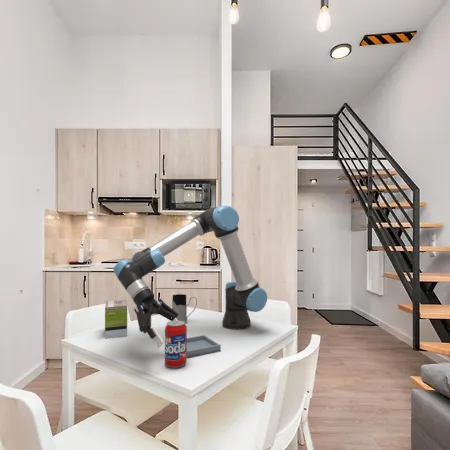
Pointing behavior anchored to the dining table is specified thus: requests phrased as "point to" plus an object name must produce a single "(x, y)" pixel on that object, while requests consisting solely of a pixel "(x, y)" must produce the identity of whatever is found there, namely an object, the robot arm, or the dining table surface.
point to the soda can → (175, 344)
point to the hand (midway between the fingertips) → (172, 339)
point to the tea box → (115, 319)
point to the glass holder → (181, 306)
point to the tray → (201, 346)
